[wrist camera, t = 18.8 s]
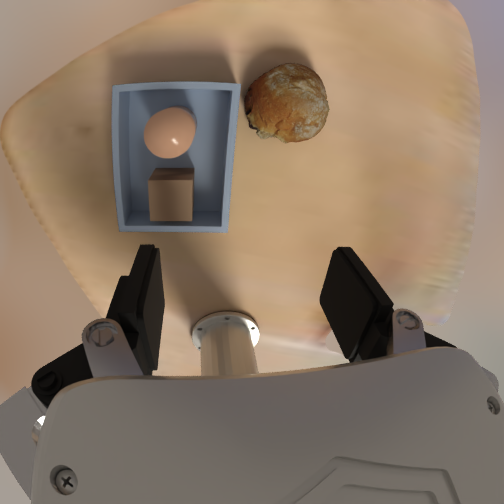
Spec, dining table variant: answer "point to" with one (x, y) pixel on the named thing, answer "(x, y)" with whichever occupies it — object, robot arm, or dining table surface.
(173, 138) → the terracotta cylinder
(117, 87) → the tote
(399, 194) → the dining table surface
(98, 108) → the dining table surface
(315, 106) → the bread roll
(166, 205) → the walnut cube
